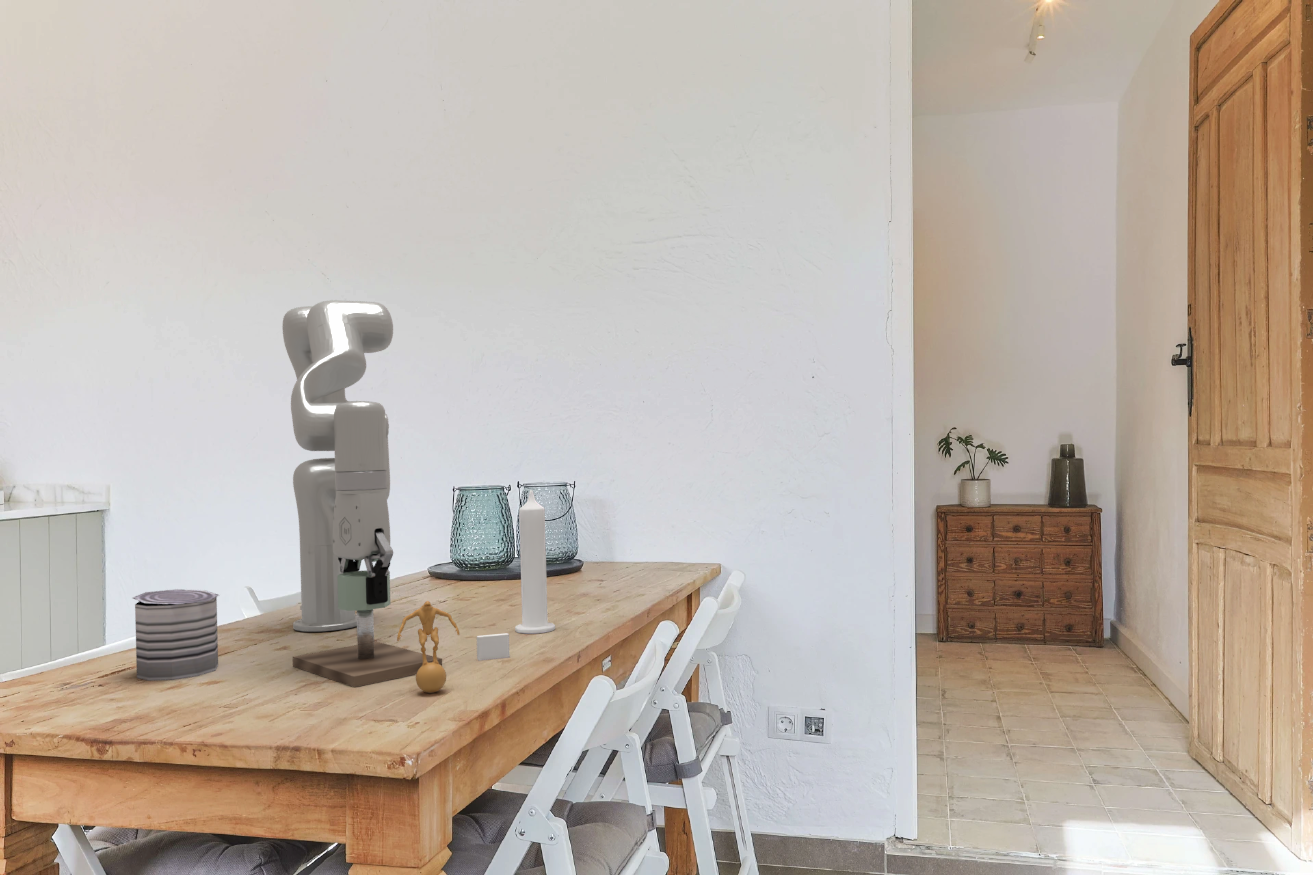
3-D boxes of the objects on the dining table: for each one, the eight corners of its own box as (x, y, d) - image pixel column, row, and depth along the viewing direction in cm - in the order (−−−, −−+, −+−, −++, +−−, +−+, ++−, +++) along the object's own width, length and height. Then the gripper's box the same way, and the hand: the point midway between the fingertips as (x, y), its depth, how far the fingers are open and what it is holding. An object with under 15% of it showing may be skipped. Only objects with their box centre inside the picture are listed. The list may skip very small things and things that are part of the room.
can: (195, 660, 153) (193, 585, 153) (234, 668, 146) (232, 590, 146) (121, 675, 143) (119, 595, 143) (159, 684, 137) (157, 601, 137)
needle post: (355, 657, 144) (353, 590, 144) (369, 654, 145) (367, 588, 145) (362, 659, 142) (360, 591, 142) (377, 657, 144) (375, 589, 144)
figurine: (401, 699, 124) (398, 607, 124) (396, 689, 130) (394, 601, 130) (465, 691, 127) (462, 602, 127) (457, 682, 133) (455, 596, 133)
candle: (558, 625, 173) (554, 488, 173) (550, 633, 166) (546, 490, 166) (520, 626, 173) (516, 489, 174) (510, 634, 166) (506, 491, 167)
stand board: (292, 666, 146) (292, 656, 146) (376, 650, 156) (376, 641, 156) (354, 687, 132) (353, 676, 132) (442, 668, 141) (442, 658, 141)
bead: (332, 607, 144) (331, 574, 144) (374, 600, 149) (374, 569, 149) (353, 612, 139) (352, 577, 139) (397, 605, 144) (396, 572, 144)
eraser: (477, 659, 148) (476, 635, 148) (508, 656, 149) (507, 632, 149) (478, 660, 146) (477, 637, 146) (509, 658, 148) (509, 634, 148)
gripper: (312, 484, 148) (315, 598, 147) (366, 485, 135) (369, 610, 135) (357, 481, 153) (360, 592, 153) (413, 482, 140) (416, 603, 140)
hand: (364, 599), depth 144 cm, fingers closed on bead, 7 cm apart
